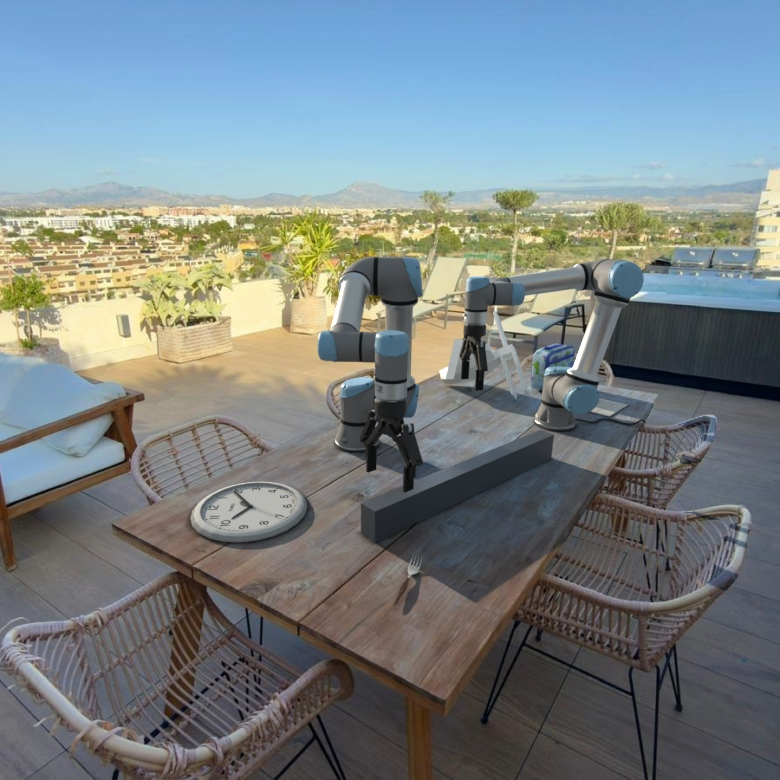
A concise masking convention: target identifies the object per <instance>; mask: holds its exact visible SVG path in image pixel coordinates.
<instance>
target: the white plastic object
mask: <svg viewBox="0 0 780 780" xmlns="http://www.w3.org/2000/svg"><path fill="white" fill-rule="evenodd" d="M492 315H493V319H494V321H495V324H496V325H495V326H496V328H497V332H498V335H499V338H500V342H501V345H502V347H500V348H498V349H496V350H495V349H493V348H492V347H491V346H490V344H489V343H488V342H487V343H485V350H486V358H487V367H488V371H485V372H484V378H485V377H486V376H487V375H489V374H490V373H492V372H494V371H495V370H496V369H497V368H499V367H500V366H502V370H503V373H504V376H505V380H506V383H507V386H508V390H509V393H510V394H511V395H512V397H513V398H514V399H515V400H517V392H516V391H517V390H516V388H515V385H514V381H513V378H512V375H511V371H510V369H509V365H508V361H510V360H513V363H514V366H515V369H516V372H517V376H518V380H519V382H520V385H521V389H522V391H523V393H524V395H525V396H526V397H528V396H531V395H530V390H529V388H528V387H529V386H528V384H527V381H526V378H525V375H524V371H523V369H522V368H523V367H522V366H521V362H520V359H519V355H518V352H517V349H516V347H515V346H514V345H513V343H511V344H508V341H507V337H506V334H505V331H504V328H503V325H502V321H501V318H500V315H499V314H498V312H497V311H496V310H495V311H492ZM462 343H463V338H460V339H458V338H454V340H453V344H452V349H451V353H450V357H449V362H448V366H446V367H444V368H442V369H440V370H439V371H438V372H439V376H440V381H442V383H443V384H444V385H445V386H449V385H458V384H467V383H468V384H469V383H473V384H475V378H476V372H475V371H476V370H477V367H476V363H475V358H474V354H472V353H471V356H470V360H467V361H470V364H469V379H461V365H462V361H461V358H460V357H459V355H460V351H461V347H462Z"/></svg>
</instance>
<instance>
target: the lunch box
mask: <svg viewBox="0 0 780 780" xmlns="http://www.w3.org/2000/svg"><path fill="white" fill-rule="evenodd" d="M575 352H576V351H575V346H573V345H568V344H562V343H553V344H550V345H547V346H546V345H545V346H544V347H541V348H538V349H537V350H536V351H535V352H534V354H533V357H532V362H531V371H530V372H531V374H530V387H531V389H533V390H539V391H543V381H544V373H545V370H546V368H548V367H571V368H572V367H573V365H574V362H575Z"/></svg>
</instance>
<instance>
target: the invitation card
mask: <svg viewBox="0 0 780 780" xmlns="http://www.w3.org/2000/svg"><path fill="white" fill-rule="evenodd" d="M628 406H629V404H627V403H623V402H618V401H614V400H609V399H605V398H601V397H600V399H599V402H598V404H597V406H596V407H595V408H594V409H593V410H592V411H590V412H589V413H593V414H596V415H600V416H604V417H607V418H610V417H611V416H613V415H614V414H616V413H617V412H619V411H621V410H623V409H624V408H626V407H628Z"/></svg>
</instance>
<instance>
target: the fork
mask: <svg viewBox="0 0 780 780" xmlns="http://www.w3.org/2000/svg"><path fill="white" fill-rule="evenodd" d="M414 555H415V553H413V554H412V557H411V559H410V562H409V565H408V567H407V573H408V576H407V578H406V579H405V580H404V582H403V583H402V584H401V586H400V587H399V591H398V593H397V596H396V598H395V601H394V604H393V606H396V604H397V603H398V602H399V600H400V599H401V598H402V596H403V594H404V593H405V591H406V590H407V588H408V585H409V582H410V579H411V577H412V576H414V575H417V574H418V573H419V572H420V570H421V565H422V561H423V557H424V556H423V555H422V556H421V555H417V554H416V555H415V557H414ZM417 556H418V558H417ZM420 556H421V557H420ZM420 558H421V559H420ZM413 559H414V560H413ZM416 559H417V560H416ZM419 560H420V562H419ZM415 563H416V564H415Z"/></svg>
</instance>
